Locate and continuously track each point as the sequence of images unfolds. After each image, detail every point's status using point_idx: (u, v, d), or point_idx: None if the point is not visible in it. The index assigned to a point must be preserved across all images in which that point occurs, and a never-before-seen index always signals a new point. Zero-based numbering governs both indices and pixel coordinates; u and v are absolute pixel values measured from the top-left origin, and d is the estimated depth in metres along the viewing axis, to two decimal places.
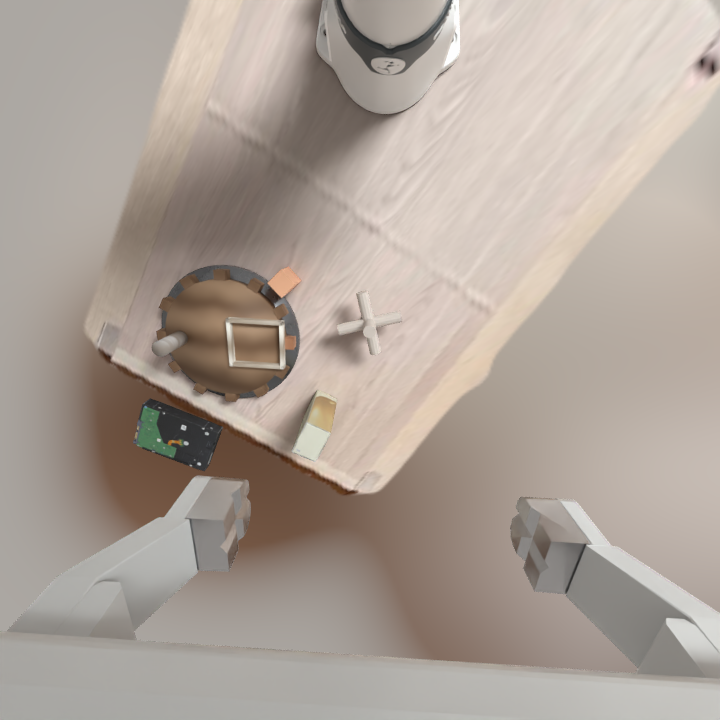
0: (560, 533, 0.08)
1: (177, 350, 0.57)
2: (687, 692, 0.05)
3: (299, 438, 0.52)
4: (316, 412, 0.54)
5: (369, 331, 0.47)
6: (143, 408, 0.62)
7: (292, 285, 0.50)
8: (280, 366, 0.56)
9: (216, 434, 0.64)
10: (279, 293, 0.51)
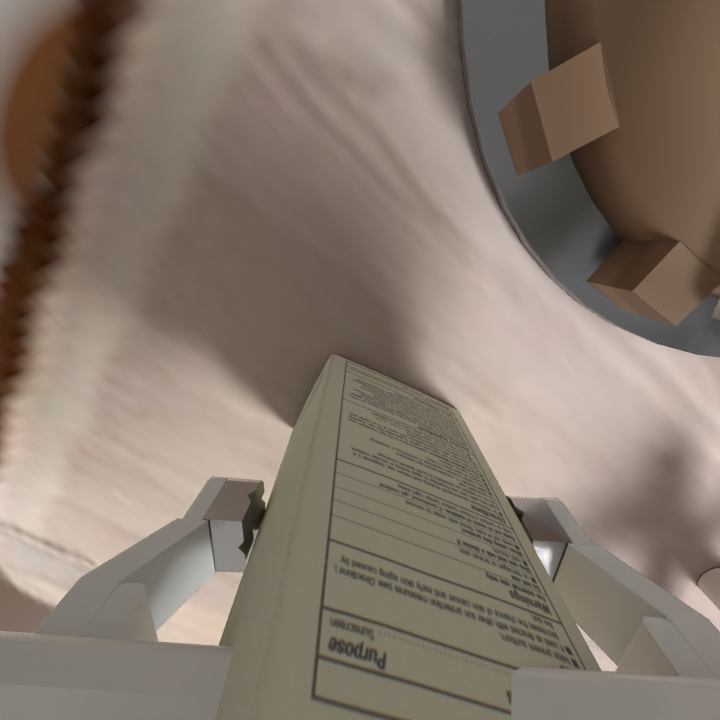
0: (543, 532, 0.08)
1: None
2: (687, 692, 0.05)
3: None
4: None
5: None
6: None
7: None
8: None
9: None
10: None
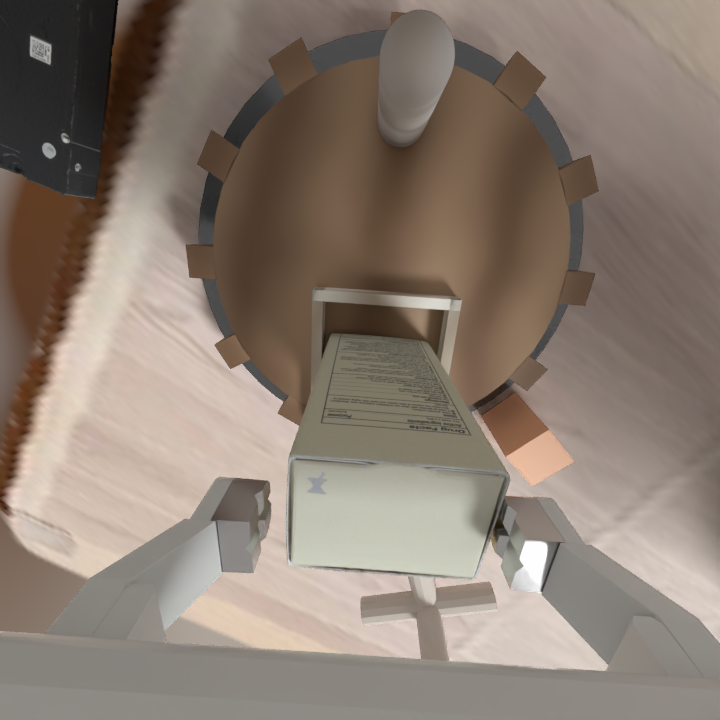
0: (535, 531, 0.08)
1: (355, 94, 0.16)
2: (687, 692, 0.05)
3: (395, 471, 0.09)
4: None
5: None
6: None
7: (531, 480, 0.21)
8: None
9: (58, 188, 0.19)
10: (517, 453, 0.20)
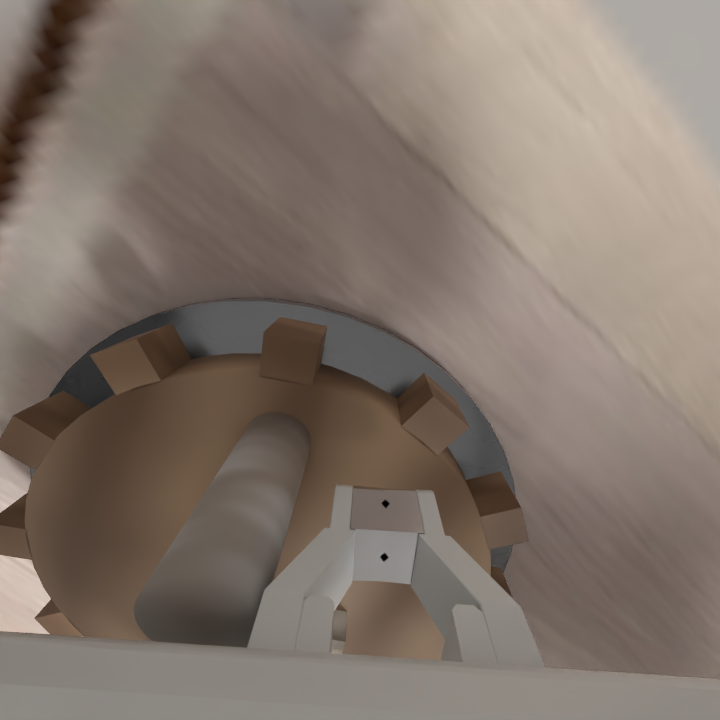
0: (399, 523, 0.08)
1: (214, 408, 0.12)
2: (688, 692, 0.05)
3: None
4: None
5: None
6: None
7: None
8: None
9: None
10: None
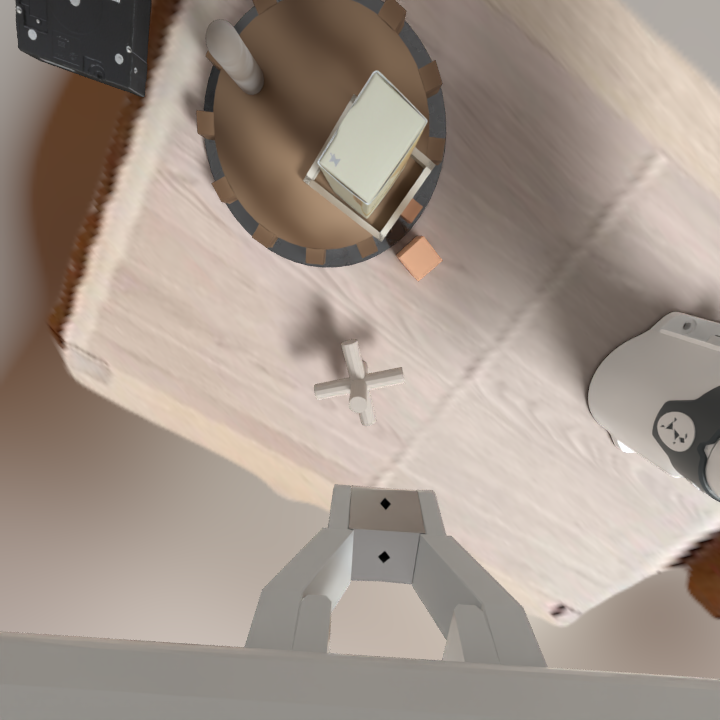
0: (400, 523, 0.08)
1: (229, 97, 0.30)
2: (687, 692, 0.05)
3: (345, 121, 0.20)
4: None
5: (358, 404, 0.33)
6: None
7: (417, 276, 0.33)
8: (379, 234, 0.33)
9: (125, 84, 0.31)
10: (406, 255, 0.32)
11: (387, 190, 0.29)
